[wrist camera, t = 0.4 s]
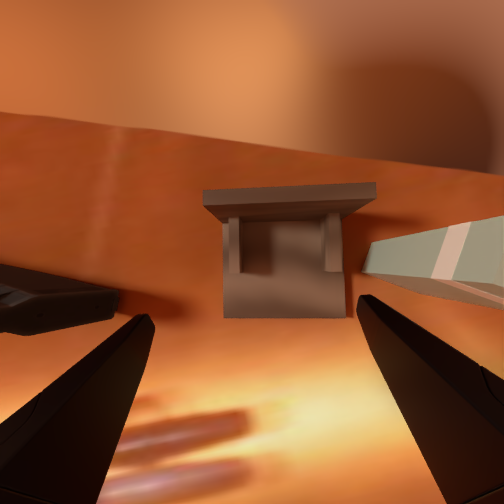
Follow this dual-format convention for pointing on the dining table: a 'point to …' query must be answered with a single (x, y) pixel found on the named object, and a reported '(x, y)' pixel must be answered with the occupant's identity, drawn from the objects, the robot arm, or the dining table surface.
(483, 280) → the book
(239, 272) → the book rack
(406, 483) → the dining table surface
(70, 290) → the magazine
